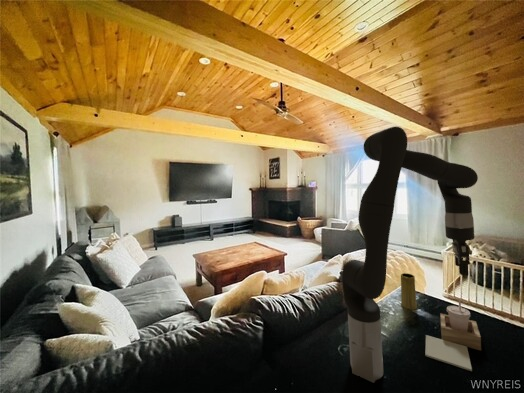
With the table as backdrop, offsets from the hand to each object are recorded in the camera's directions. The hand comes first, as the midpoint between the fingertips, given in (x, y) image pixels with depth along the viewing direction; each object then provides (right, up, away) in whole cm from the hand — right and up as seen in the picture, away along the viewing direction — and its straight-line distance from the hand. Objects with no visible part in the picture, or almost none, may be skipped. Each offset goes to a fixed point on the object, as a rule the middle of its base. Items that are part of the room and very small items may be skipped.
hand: (461, 270), depth 78 cm
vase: (-4, -24, +22) cm, 33 cm away
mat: (-10, -25, -5) cm, 28 cm away
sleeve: (0, -24, +1) cm, 24 cm away
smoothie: (0, -25, +1) cm, 24 cm away
